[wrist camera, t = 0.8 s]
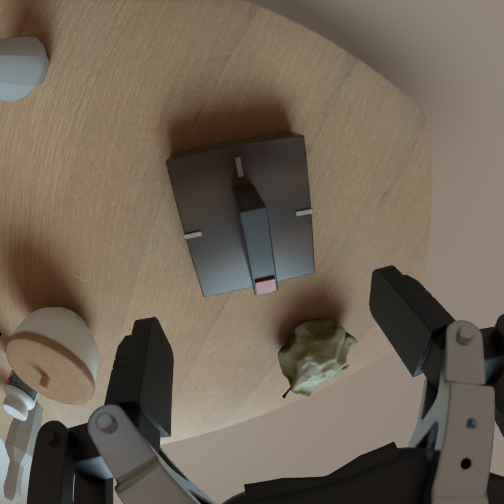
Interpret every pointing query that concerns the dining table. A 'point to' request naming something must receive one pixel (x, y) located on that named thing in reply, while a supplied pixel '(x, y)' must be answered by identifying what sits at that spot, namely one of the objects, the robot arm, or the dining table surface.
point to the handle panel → (224, 212)
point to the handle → (256, 238)
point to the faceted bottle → (21, 450)
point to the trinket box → (55, 355)
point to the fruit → (314, 354)
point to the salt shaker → (21, 67)
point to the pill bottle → (19, 397)
